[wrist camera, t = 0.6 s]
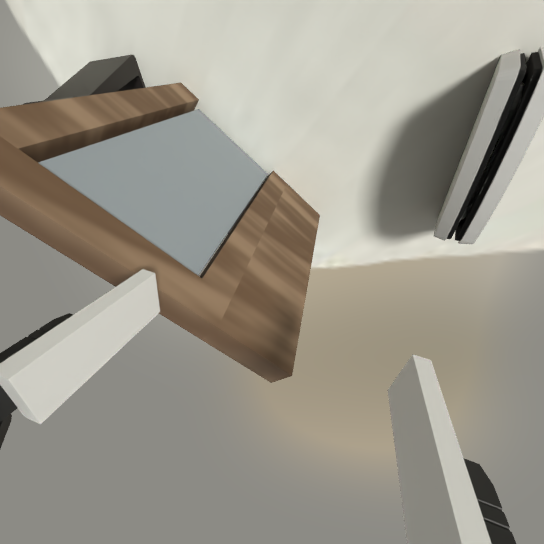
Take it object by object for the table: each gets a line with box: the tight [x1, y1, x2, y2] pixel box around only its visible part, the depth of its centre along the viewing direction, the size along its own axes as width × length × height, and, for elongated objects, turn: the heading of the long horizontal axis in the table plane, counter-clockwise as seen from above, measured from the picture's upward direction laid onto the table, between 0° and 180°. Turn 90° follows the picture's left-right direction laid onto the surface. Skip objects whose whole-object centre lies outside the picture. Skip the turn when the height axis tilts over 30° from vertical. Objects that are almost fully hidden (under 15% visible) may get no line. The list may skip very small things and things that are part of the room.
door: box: [38, 109, 268, 275], centre depth 24 cm, size 11×3×21 cm, turn 50°
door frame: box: [0, 83, 320, 383], centre depth 24 cm, size 2×24×24 cm, turn 50°
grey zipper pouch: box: [434, 47, 544, 244], centre depth 24 cm, size 17×5×10 cm, turn 5°
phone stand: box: [23, 55, 146, 105], centre depth 27 cm, size 9×6×12 cm, turn 5°
